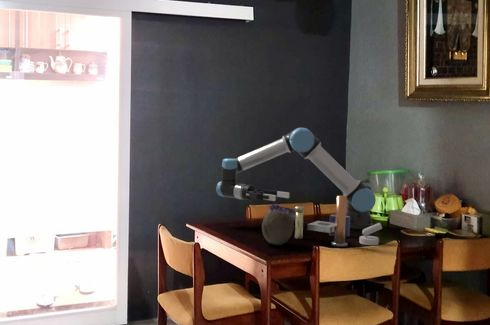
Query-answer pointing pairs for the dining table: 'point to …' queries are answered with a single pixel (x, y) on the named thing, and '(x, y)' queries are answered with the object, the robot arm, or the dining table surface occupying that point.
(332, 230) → the rosette bracket
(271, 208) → the geode
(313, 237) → the dining table surface
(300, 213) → the glass vial
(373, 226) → the wall hook
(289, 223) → the cantaloupe
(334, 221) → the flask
